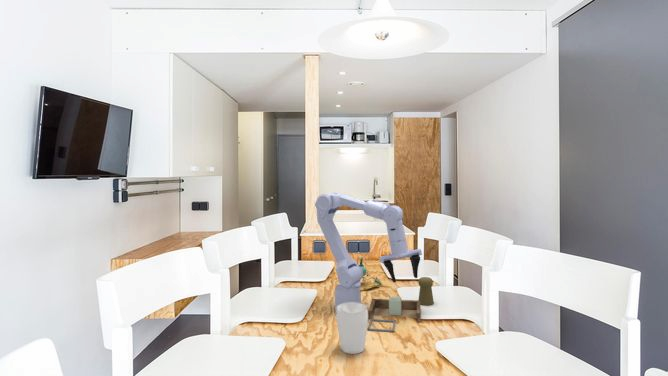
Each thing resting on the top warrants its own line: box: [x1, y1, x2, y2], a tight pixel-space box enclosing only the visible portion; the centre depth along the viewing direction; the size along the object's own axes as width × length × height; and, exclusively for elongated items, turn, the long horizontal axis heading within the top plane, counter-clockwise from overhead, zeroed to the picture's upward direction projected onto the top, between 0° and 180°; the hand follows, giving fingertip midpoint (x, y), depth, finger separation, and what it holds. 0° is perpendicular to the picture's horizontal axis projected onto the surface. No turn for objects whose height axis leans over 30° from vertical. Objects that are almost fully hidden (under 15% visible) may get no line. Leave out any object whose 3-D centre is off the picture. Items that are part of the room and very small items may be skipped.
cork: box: [417, 276, 435, 307], centre depth 138 cm, size 6×6×11 cm
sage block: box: [388, 296, 402, 315], centre depth 129 cm, size 4×4×5 cm
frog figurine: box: [356, 256, 384, 291], centre depth 163 cm, size 10×18×15 cm, turn 86°
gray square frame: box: [366, 318, 397, 333], centre depth 118 cm, size 8×8×2 cm
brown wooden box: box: [367, 298, 422, 323], centre depth 128 cm, size 17×12×4 cm
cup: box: [335, 302, 369, 355], centre depth 106 cm, size 9×9×12 cm
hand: (405, 279), depth 128 cm, fingers open, 7 cm apart
